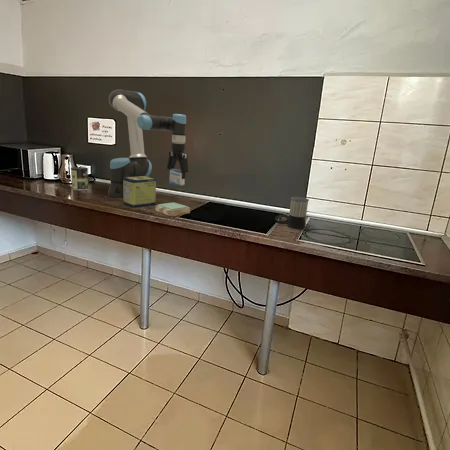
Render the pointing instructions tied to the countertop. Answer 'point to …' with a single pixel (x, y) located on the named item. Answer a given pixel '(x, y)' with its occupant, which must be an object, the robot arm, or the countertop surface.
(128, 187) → the protein box
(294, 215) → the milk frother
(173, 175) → the medicine box
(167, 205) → the mat
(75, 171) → the coffee can
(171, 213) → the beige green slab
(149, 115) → the robot arm
